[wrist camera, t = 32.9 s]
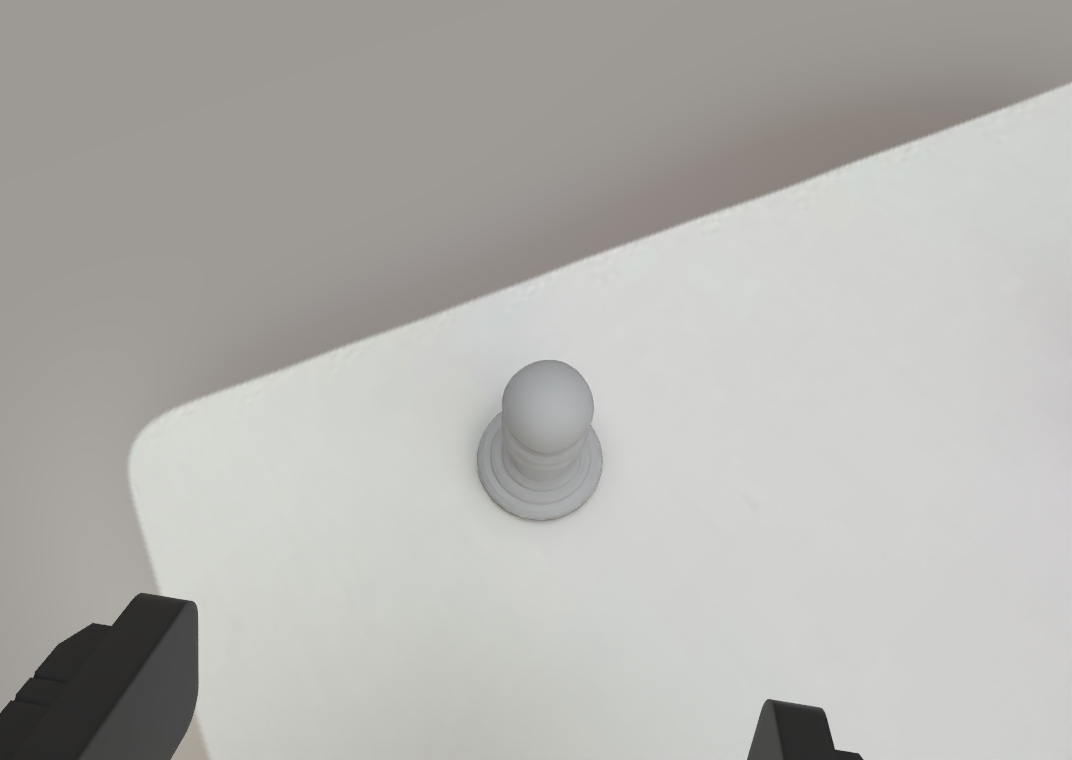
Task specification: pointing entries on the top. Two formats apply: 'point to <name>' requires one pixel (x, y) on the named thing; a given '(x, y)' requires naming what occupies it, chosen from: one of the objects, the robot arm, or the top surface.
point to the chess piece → (542, 443)
